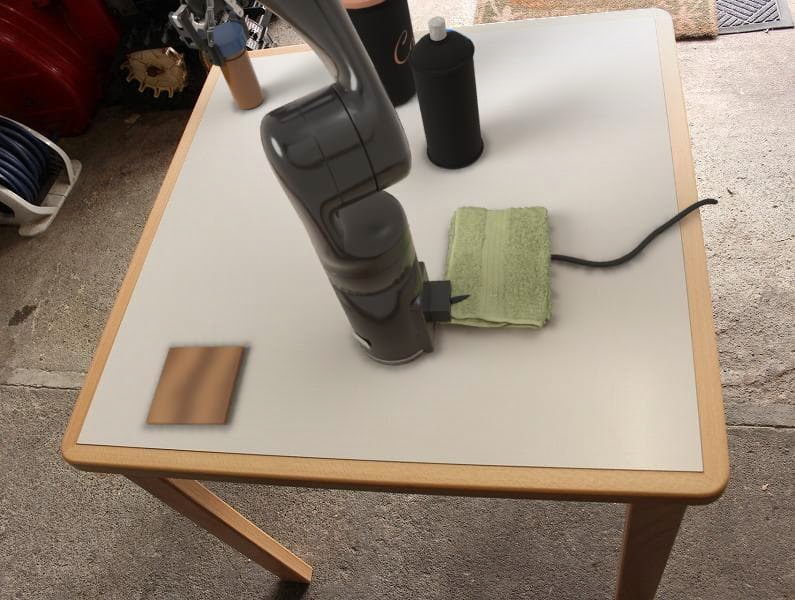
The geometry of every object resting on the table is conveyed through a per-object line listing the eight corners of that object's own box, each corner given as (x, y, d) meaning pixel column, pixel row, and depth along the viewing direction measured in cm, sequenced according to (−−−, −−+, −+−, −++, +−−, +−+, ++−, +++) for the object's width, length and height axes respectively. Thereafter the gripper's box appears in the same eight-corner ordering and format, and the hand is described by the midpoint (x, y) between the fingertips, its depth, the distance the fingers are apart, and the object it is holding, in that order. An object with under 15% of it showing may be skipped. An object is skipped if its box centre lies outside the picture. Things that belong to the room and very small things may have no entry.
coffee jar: (416, 111, 94) (393, 0, 79) (350, 112, 97) (317, 5, 82) (427, 66, 99) (408, -45, 85) (365, 69, 102) (336, -39, 87)
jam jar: (266, 89, 104) (244, 30, 96) (261, 108, 101) (238, 49, 93) (239, 92, 105) (214, 34, 96) (232, 110, 102) (207, 52, 94)
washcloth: (437, 332, 71) (433, 317, 69) (452, 216, 81) (449, 200, 78) (552, 336, 68) (553, 321, 66) (554, 215, 78) (555, 198, 75)
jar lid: (207, 43, 97) (201, 31, 95) (243, 28, 97) (238, 16, 95) (214, 62, 93) (208, 50, 91) (251, 48, 93) (246, 36, 92)
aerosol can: (475, 172, 84) (460, 44, 68) (419, 166, 87) (392, 41, 71) (490, 131, 88) (479, 0, 72) (436, 127, 91) (414, 0, 75)
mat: (245, 348, 75) (243, 345, 75) (226, 424, 70) (223, 422, 69) (171, 349, 77) (169, 347, 77) (147, 424, 72) (145, 422, 72)
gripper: (167, -26, 78) (223, 84, 91) (233, -84, 84) (276, 28, 97) (127, -31, 81) (187, 76, 95) (194, -87, 87) (240, 22, 100)
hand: (232, 51), depth 96 cm, fingers closed on jar lid, 6 cm apart
